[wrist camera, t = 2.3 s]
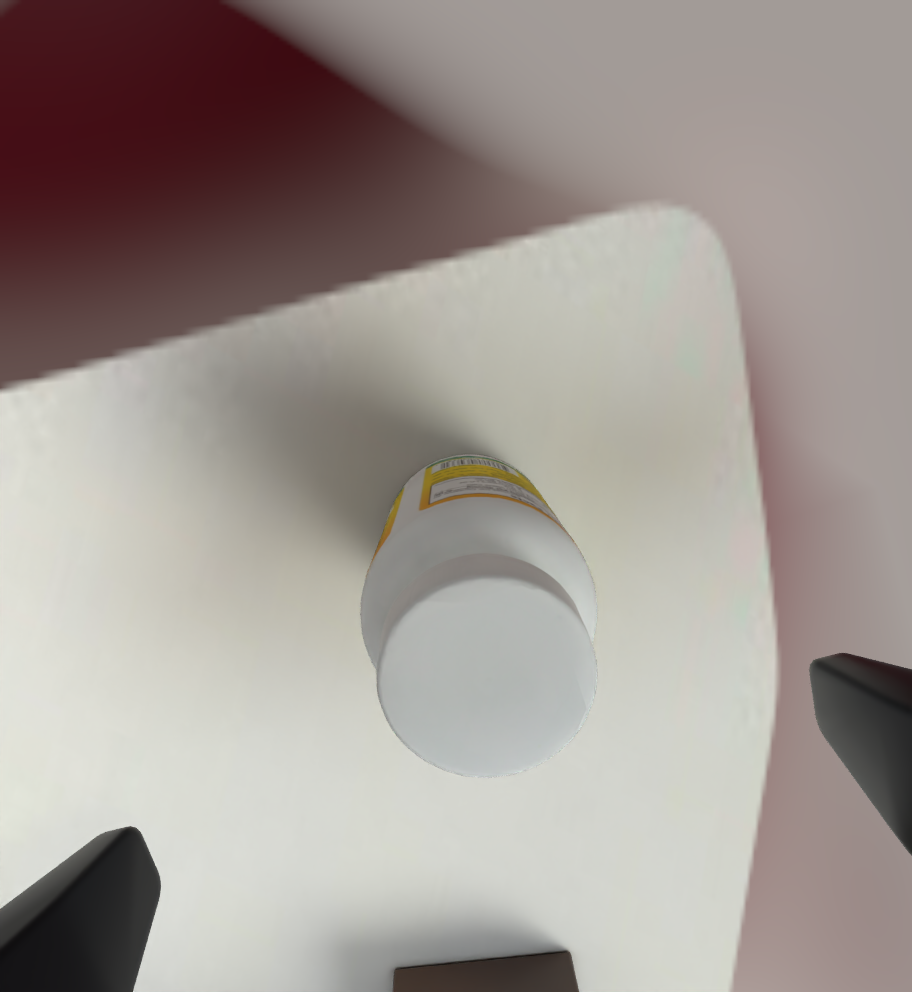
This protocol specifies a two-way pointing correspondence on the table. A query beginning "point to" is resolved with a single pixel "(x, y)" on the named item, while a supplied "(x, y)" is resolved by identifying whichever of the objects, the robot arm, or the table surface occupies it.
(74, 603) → the table surface
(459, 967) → the step shelf
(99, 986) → the robot arm
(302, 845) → the table surface
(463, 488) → the supplement bottle
